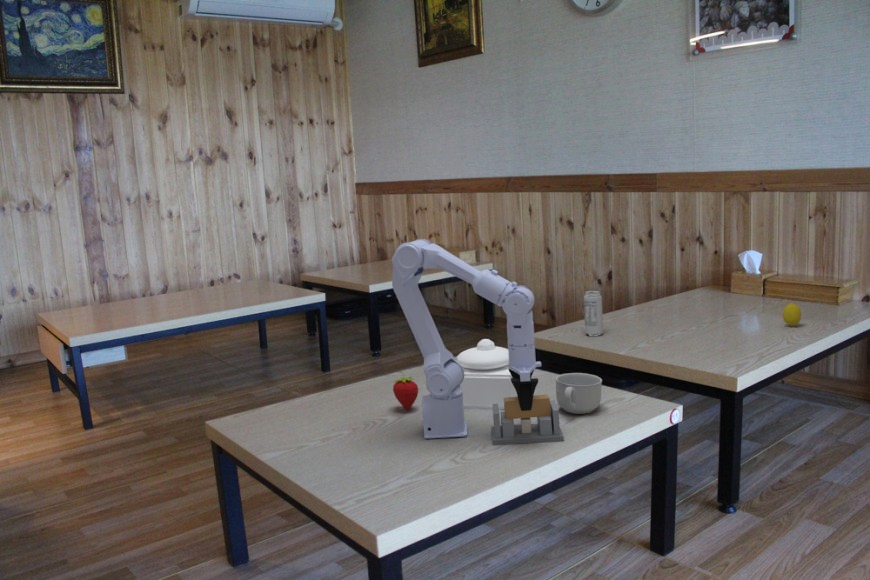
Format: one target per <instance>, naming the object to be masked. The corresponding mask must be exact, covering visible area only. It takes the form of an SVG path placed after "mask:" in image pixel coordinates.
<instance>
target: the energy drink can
mask: <svg viewBox="0 0 870 580" xmlns="http://www.w3.org/2000/svg"><path fill="white" fill-rule="evenodd" d="M602 298H603V297H602V294H601V292H600V291H599V290H588V291H585V294H584V296H583V310H584V311H583V312H584V313H583V314H584V333H585V334H586V335H587V334H591V335H598V334H603V333H604V323H603V322H604V321H603V319H604V318H603V317H604V316H603V299H602Z"/></svg>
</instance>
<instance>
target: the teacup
mask: <svg viewBox="0 0 870 580" xmlns="http://www.w3.org/2000/svg"><path fill="white" fill-rule="evenodd" d="M602 383H603V379H602V378H601V377H599V376H598V375H594V374H589V373H583V372H571V373H570V372H569V373H562V374H560V375H557V376H556V377H555V395H556V397H555V398H556V401H557V405H558V406H559V407H561V408H562V409H563V411H565V412H567V413H569V414H573V415H574V414H575V415H585V414H586V413H587V414H591V413H592V412H593V411H594V410H596V409H597V408H598V407H599V406H600V404H601V399H602V398H601V397H602Z"/></svg>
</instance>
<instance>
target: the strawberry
mask: <svg viewBox="0 0 870 580" xmlns="http://www.w3.org/2000/svg"><path fill="white" fill-rule="evenodd" d="M400 374H402V375H404V373H402V371H401V372H400ZM400 377H401V378H399V379H396V380H393V382H394V384H393V388H392V391H393V394H394V397H395V399H396V400H397V401H398V403H399V404H400V405H401V406H402V407H403V408H404V410H406V411H409V410H411V408H412V407H413V405H414V404H415V402H416V399H417V398H418V394H419V386H418V385H417V383H416V382H415V381H414V380H415V378H413V376H409V377H405V376H400Z"/></svg>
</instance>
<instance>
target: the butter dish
mask: <svg viewBox="0 0 870 580" xmlns="http://www.w3.org/2000/svg"><path fill="white" fill-rule="evenodd" d="M456 361H457V362H458V363H459V364H460V365H461V366H462V368H463V370H464V379H463V381H462V383H461V384H460V387H461V389H462V392H463V406H464V409H474V410H475V409H478V410H482V409H483V410H493V404H498V408H499V411H500V410H502V411H503V410H504V398H507V397H518V396H517V392H516V390H515V388H514V386H513V384H512V382H511V378H512V375H511V374H510V372H509V368H508V364H509V354H508V348H505V347H501V346H497V345H495V342H494V341H492V340H490V339H489V338H483V339H481V340H479V342H477V346H475V347H471V348H468V349H466V350H464V351H462V352H459V354H458V355H457V356H456Z"/></svg>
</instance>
